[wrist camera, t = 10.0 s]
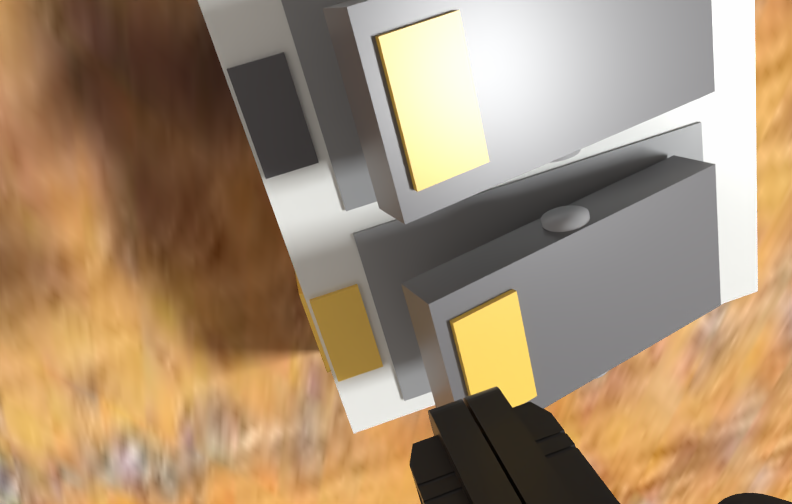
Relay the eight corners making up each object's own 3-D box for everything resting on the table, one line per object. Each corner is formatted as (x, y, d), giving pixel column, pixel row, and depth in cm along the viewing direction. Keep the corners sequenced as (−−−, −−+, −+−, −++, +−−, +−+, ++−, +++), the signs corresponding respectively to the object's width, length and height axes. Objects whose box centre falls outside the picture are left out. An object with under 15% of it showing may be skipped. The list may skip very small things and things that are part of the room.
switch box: (619, -419, 18) (754, -560, 13) (669, 236, 26) (761, 293, 21) (98, -296, 16) (41, -405, 12) (329, 351, 25) (349, 438, 20)
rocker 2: (673, 150, 19) (720, 160, 17) (683, 292, 21) (726, 311, 19) (399, 278, 16) (430, 301, 15) (442, 428, 18) (472, 460, 17)
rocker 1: (659, -103, 16) (713, -114, 14) (672, 92, 18) (720, 98, 17) (320, 0, 13) (347, -2, 12) (380, 214, 15) (410, 233, 14)
